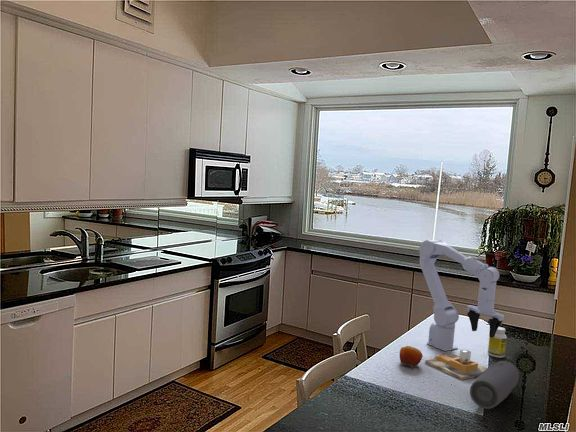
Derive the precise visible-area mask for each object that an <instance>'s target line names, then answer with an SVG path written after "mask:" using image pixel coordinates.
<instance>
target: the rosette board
mask: <svg viewBox="0 0 576 432" xmlns="http://www.w3.org/2000/svg"><path fill="white" fill-rule="evenodd" d="M446 356H448V357H451V358H453V359H454V358H458V357H460V355H457V354H455V353H454V354H447V355H446ZM424 363H425V364H427V365H428V366H430V367H432V368H436V369H437V370H440V371H442V372H443V373H446V374H448V375H450V376H452V377H454V378H457V379H459V380H461V381H464V380H469V379H471V378H475V377H478V376H479V375H480V374H481V373H483V372H484V371H485V370H486V369H487V368H488V367H487V366H486V367H485V366H484V365H481V364H479V363H478V369H477V370H475V371H471V372H468V373H464V372H461V371H459V370H457V369H455V368H453V367H450V366H449V364H448V363H445V362H442V361H440V360H438V359H436V357H435V358H430V359H426V360H425V362H424Z"/></svg>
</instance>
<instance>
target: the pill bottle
mask: <svg viewBox="0 0 576 432" xmlns="http://www.w3.org/2000/svg"><path fill="white" fill-rule="evenodd" d="M505 333H506V328H505V327H501V326H499V327H498V329H497V331H496V333H495V336H494V337H492V338H491V337H488V347H487V354H488V355H489V356H491V357H493V358H498V359H499V358H501V359H502V358H505V356H506V346H507V335H506V334H505Z"/></svg>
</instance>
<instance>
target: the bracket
mask: <svg viewBox="0 0 576 432" xmlns="http://www.w3.org/2000/svg"><path fill="white" fill-rule="evenodd" d="M435 358H436V359H438V360H440V361H442V362H445V363H448V364H449V366H450V367H453V368H455V369H457V370H459V371H461V372H464V373H468V372H471V371H475V370H477V369H478V364H479V363H478V362H476V361H473V360H471V359H470V364H467V365H464V364H462V363H459V357H458V358H454V359H453V358H451V357H448V356H447V355H445V354H444V353H441V354H437V355H435Z"/></svg>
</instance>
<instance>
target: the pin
mask: <svg viewBox="0 0 576 432" xmlns="http://www.w3.org/2000/svg"><path fill="white" fill-rule="evenodd" d="M471 354H472V351H470V350H468V349H460V351H459V356H460V357H459V363H462V364H464V365H467V364H470V360H471Z"/></svg>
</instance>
